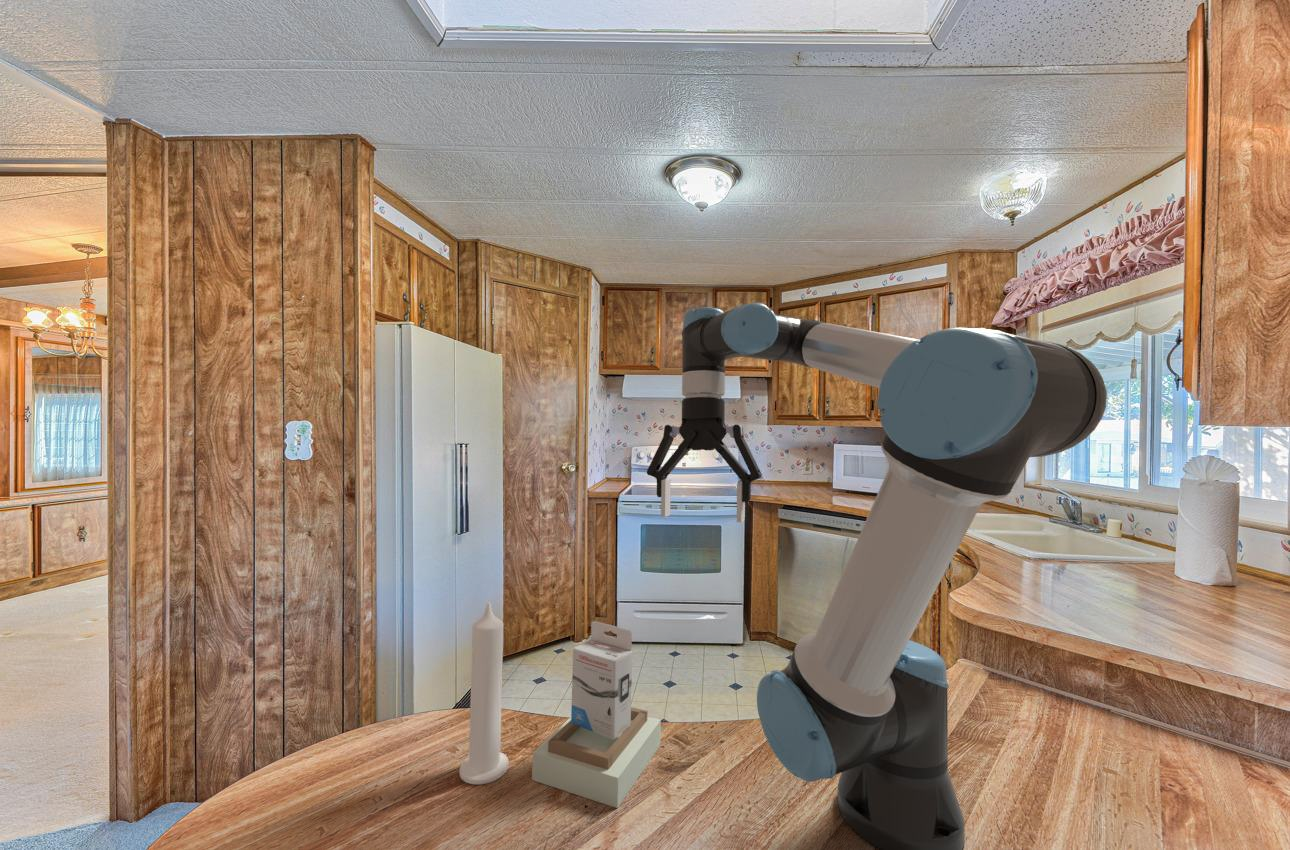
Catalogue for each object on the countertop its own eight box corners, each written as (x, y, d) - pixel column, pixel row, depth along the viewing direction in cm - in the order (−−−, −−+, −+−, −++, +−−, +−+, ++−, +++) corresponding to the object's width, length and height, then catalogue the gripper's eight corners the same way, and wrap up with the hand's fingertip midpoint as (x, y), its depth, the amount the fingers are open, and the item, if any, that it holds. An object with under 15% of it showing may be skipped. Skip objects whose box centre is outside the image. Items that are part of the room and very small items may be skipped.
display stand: (660, 744, 83) (660, 710, 83) (617, 808, 68) (618, 766, 69) (586, 725, 89) (587, 693, 89) (532, 779, 74) (532, 741, 74)
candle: (494, 788, 72) (498, 611, 73) (449, 781, 73) (454, 607, 74) (516, 758, 79) (520, 597, 80) (475, 752, 80) (479, 593, 81)
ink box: (569, 723, 79) (571, 628, 80) (589, 710, 83) (590, 619, 84) (613, 741, 74) (615, 640, 75) (632, 726, 79) (633, 630, 79)
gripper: (778, 398, 88) (778, 520, 87) (646, 401, 97) (644, 511, 96) (771, 393, 81) (771, 527, 80) (630, 397, 90) (628, 516, 90)
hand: (702, 518), depth 88 cm, fingers open, 13 cm apart
